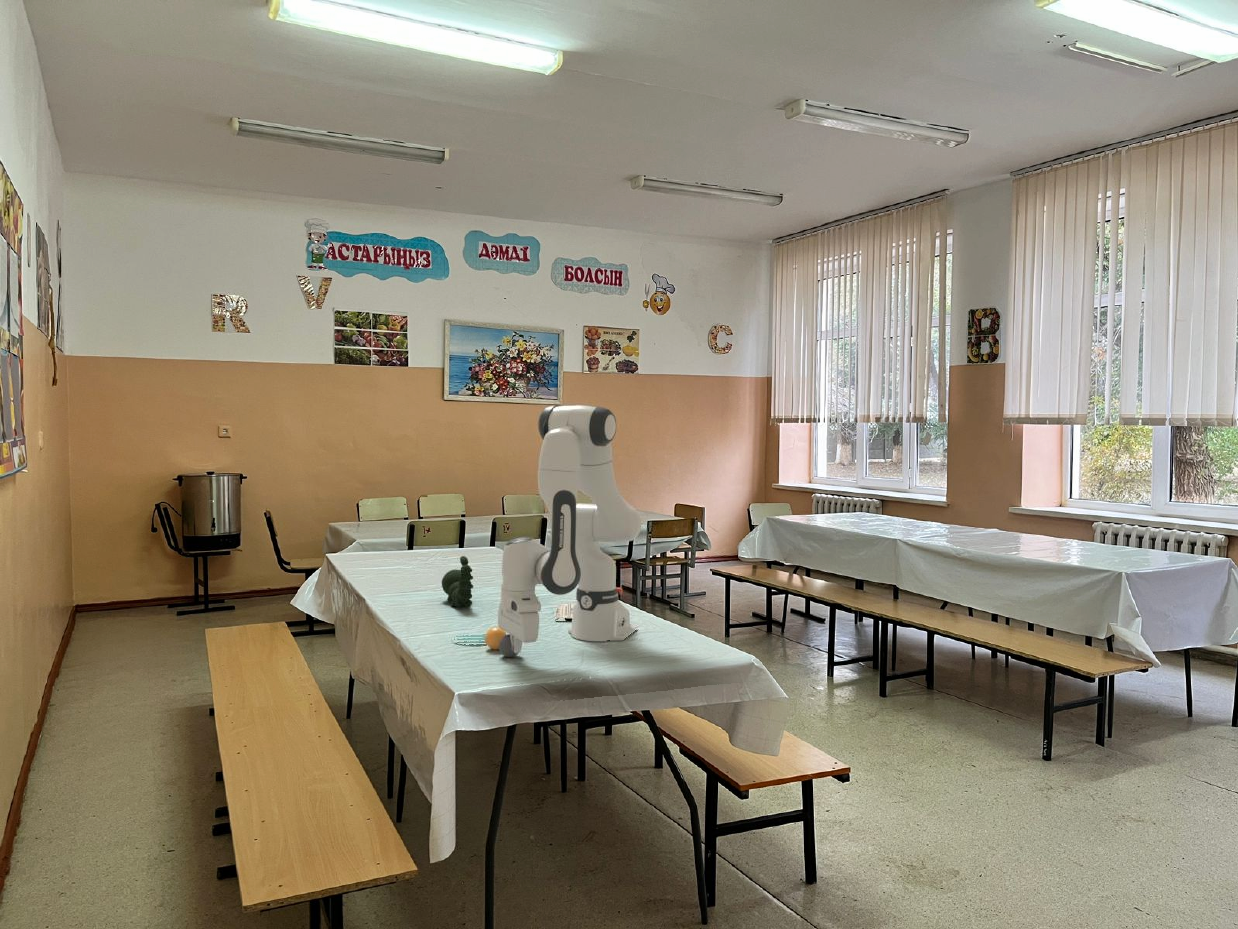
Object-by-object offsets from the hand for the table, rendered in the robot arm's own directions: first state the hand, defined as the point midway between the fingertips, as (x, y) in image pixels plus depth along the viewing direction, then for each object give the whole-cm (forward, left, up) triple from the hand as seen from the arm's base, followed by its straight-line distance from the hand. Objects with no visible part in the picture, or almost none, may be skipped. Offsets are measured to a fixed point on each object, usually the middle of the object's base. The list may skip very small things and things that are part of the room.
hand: (516, 652), depth 218 cm
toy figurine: (-46, -58, -3) cm, 74 cm away
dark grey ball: (-2, -3, +1) cm, 4 cm away
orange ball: (-6, -11, +1) cm, 13 cm away
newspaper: (-54, -17, -3) cm, 56 cm away
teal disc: (-11, -22, -2) cm, 25 cm away
